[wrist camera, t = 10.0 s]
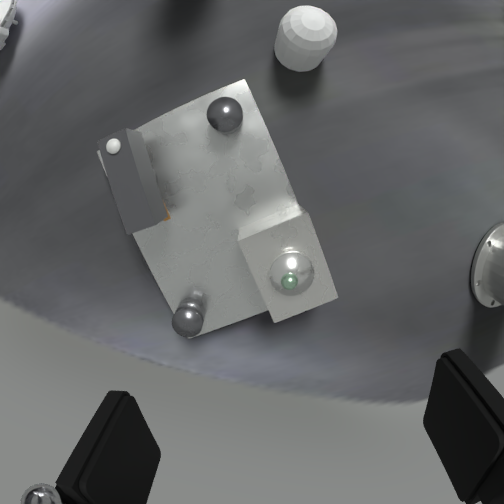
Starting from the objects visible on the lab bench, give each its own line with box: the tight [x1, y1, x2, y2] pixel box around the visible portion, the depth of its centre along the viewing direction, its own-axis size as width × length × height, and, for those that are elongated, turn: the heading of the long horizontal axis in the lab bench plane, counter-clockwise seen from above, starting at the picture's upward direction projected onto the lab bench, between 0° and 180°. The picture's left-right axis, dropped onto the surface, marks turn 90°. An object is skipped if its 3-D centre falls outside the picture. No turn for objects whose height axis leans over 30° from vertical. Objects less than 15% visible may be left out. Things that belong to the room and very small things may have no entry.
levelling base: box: [97, 79, 338, 339], centre depth 28 cm, size 16×22×10 cm
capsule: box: [274, 6, 337, 72], centre depth 24 cm, size 5×5×8 cm
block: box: [97, 128, 168, 235], centre depth 25 cm, size 8×3×6 cm, turn 17°
